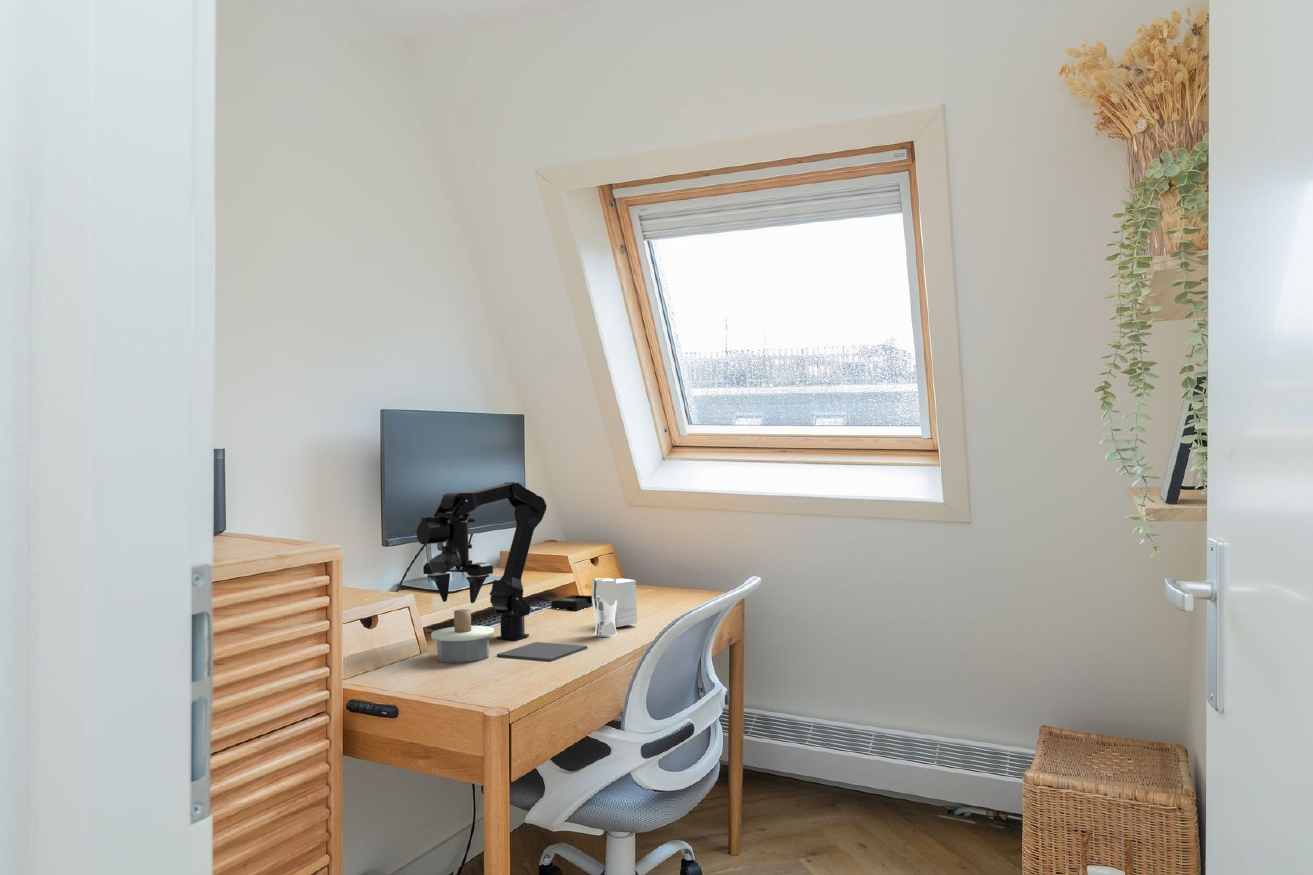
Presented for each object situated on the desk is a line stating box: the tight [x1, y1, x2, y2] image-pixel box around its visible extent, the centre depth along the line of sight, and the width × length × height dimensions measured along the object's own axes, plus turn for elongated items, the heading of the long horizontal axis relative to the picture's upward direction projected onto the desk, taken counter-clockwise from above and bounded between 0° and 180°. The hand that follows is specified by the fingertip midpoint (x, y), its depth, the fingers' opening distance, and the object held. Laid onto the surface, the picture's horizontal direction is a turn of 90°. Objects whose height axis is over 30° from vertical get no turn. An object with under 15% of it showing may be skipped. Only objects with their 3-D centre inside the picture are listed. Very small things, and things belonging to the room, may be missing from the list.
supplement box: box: [615, 578, 638, 628], centre depth 262 cm, size 7×7×13 cm
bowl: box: [436, 636, 490, 664], centre depth 221 cm, size 12×12×6 cm
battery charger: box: [550, 594, 593, 612], centre depth 292 cm, size 13×10×4 cm
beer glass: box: [591, 577, 618, 638], centre depth 246 cm, size 7×7×15 cm
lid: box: [430, 608, 495, 641], centre depth 222 cm, size 15×15×6 cm
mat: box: [496, 641, 588, 662], centre depth 225 cm, size 16×16×1 cm
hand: (458, 602), depth 233 cm, fingers open, 9 cm apart
